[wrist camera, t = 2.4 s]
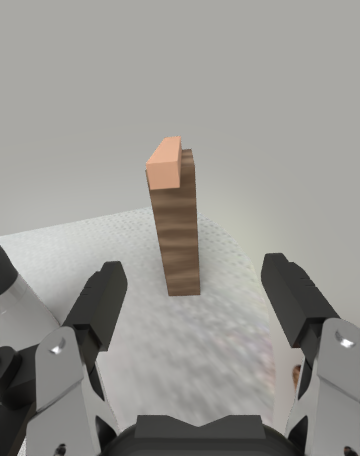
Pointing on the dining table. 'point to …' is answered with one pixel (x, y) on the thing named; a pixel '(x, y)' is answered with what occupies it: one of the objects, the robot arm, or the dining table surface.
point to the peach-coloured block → (165, 164)
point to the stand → (178, 230)
